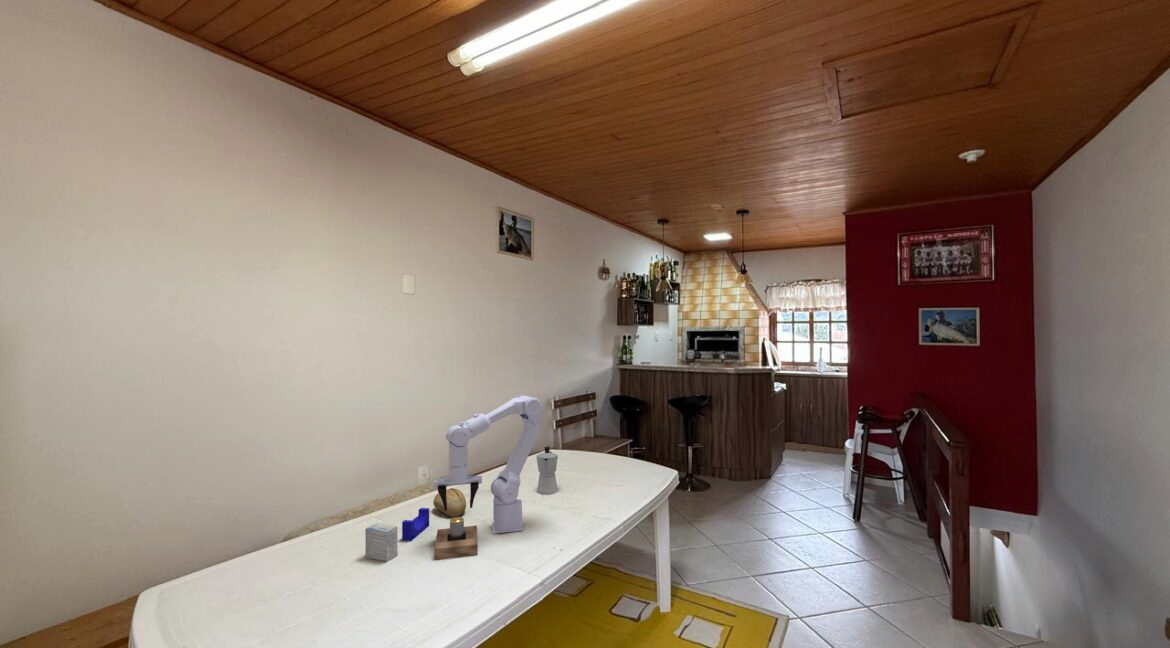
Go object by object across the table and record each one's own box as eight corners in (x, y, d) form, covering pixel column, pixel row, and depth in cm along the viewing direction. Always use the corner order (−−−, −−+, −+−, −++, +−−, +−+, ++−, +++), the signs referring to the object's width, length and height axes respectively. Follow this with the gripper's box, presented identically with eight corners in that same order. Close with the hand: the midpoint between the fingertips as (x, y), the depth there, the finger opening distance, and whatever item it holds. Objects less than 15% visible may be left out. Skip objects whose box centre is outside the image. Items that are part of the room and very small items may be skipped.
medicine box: (398, 555, 137) (398, 525, 137) (387, 562, 132) (387, 531, 133) (376, 551, 139) (376, 522, 139) (364, 558, 135) (364, 527, 135)
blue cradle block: (416, 525, 158) (416, 507, 159) (429, 526, 158) (429, 508, 158) (397, 541, 146) (397, 521, 147) (411, 541, 146) (411, 522, 146)
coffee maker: (556, 496, 185) (556, 450, 186) (534, 496, 186) (534, 450, 186) (559, 484, 200) (559, 441, 201) (538, 484, 200) (538, 442, 201)
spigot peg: (462, 542, 145) (462, 516, 145) (464, 547, 141) (464, 520, 141) (449, 544, 143) (449, 518, 143) (450, 550, 140) (450, 523, 140)
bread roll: (449, 503, 179) (449, 482, 179) (473, 513, 169) (473, 491, 169) (426, 511, 171) (426, 489, 172) (449, 521, 161) (449, 498, 162)
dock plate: (476, 534, 150) (476, 525, 150) (477, 554, 136) (477, 544, 137) (437, 539, 147) (437, 529, 147) (434, 559, 134) (434, 549, 134)
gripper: (481, 459, 153) (481, 501, 153) (434, 463, 149) (434, 506, 149) (482, 465, 146) (482, 509, 146) (433, 469, 143) (433, 514, 142)
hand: (458, 508), depth 147 cm, fingers open, 7 cm apart
